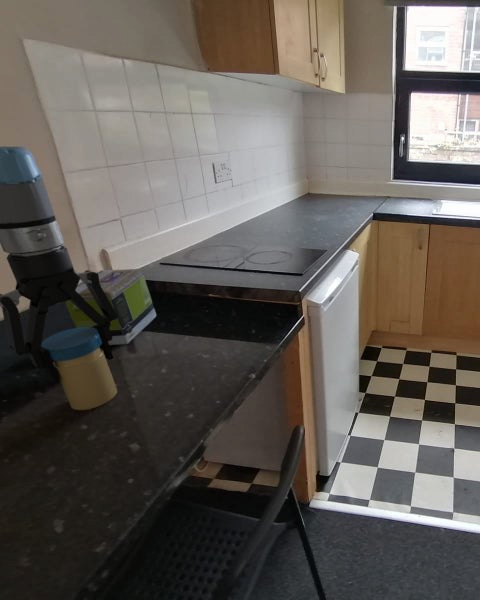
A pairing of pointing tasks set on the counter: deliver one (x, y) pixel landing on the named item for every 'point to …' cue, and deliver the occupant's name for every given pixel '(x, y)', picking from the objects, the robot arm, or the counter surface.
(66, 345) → the jar lid
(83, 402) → the jam jar
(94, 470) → the counter surface
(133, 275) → the tea box
